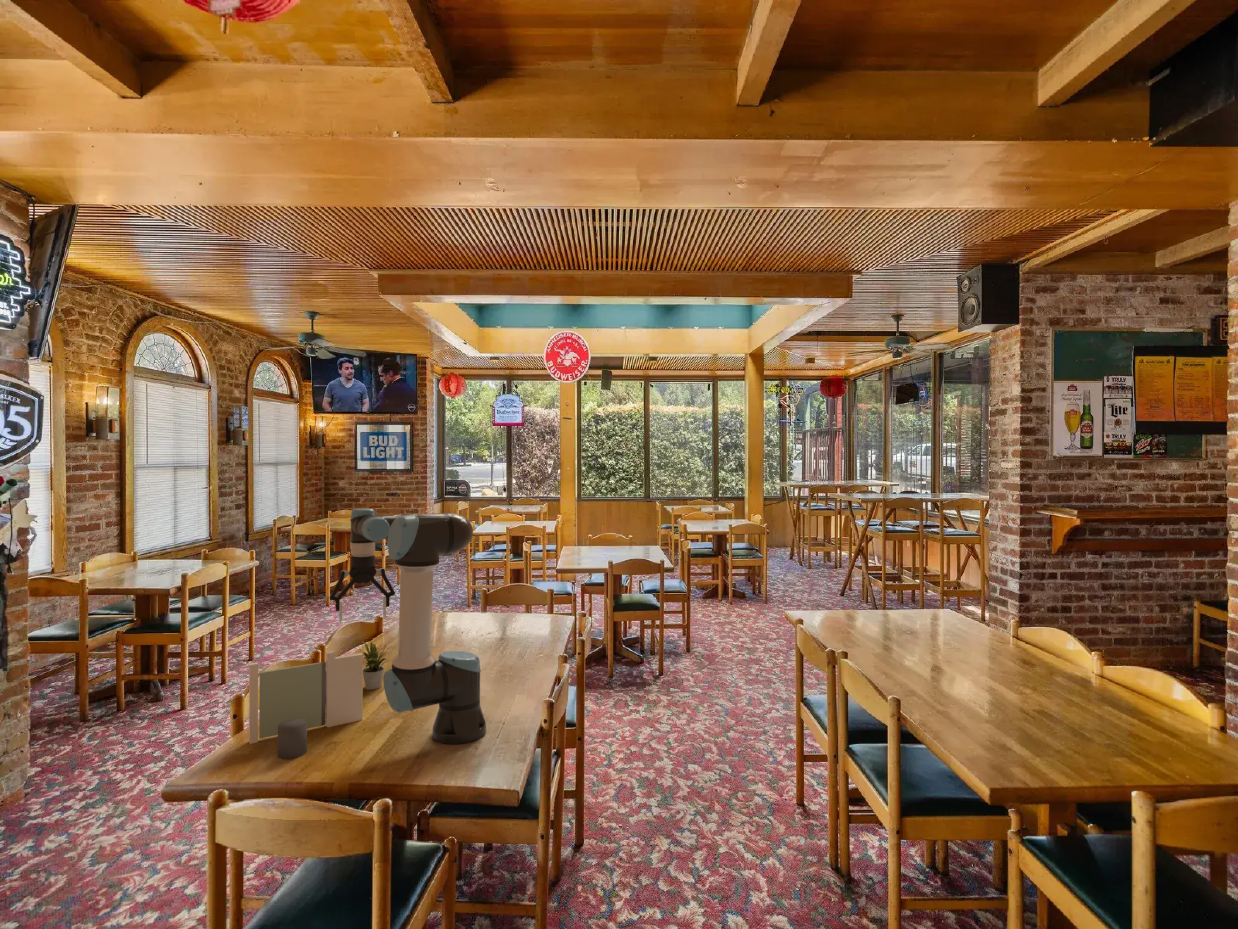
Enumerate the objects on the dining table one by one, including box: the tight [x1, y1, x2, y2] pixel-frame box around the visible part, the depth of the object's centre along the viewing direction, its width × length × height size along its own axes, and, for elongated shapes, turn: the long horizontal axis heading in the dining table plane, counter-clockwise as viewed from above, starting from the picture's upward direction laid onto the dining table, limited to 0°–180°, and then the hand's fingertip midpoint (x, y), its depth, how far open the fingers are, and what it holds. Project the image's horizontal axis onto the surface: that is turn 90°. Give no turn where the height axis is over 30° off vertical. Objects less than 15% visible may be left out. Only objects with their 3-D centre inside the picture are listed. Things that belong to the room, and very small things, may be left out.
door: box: [258, 661, 326, 739], centre depth 186 cm, size 1×17×18 cm, turn 124°
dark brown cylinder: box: [277, 719, 308, 760], centre depth 173 cm, size 7×7×8 cm
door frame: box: [248, 650, 364, 745], centre depth 188 cm, size 2×30×22 cm, turn 125°
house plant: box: [350, 640, 393, 691], centre depth 224 cm, size 14×14×16 cm
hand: (362, 618), depth 213 cm, fingers open, 13 cm apart
